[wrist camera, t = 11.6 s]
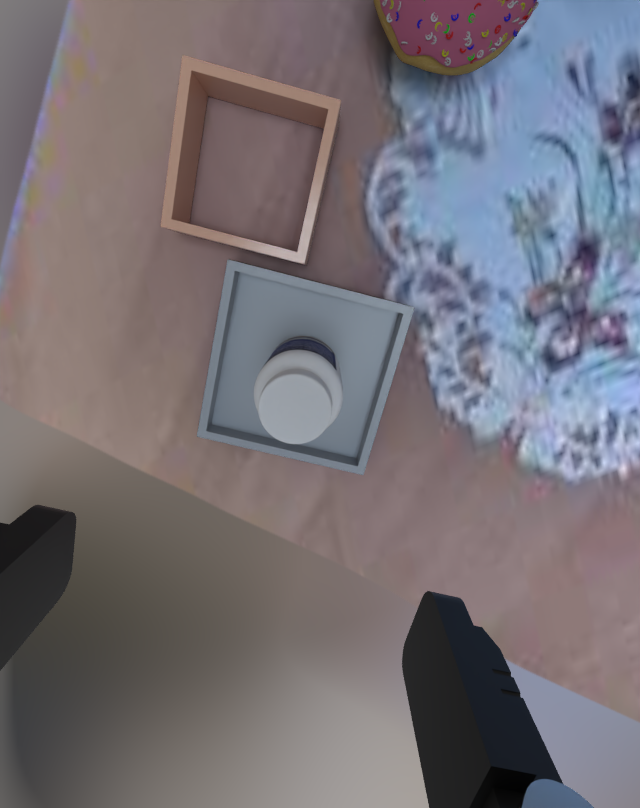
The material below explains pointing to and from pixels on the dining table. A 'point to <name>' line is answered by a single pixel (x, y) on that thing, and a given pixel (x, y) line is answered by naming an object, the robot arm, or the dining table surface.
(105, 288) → the dining table surface
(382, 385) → the tray
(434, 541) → the dining table surface
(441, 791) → the robot arm
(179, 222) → the holder
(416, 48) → the cupcake
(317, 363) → the pill bottle
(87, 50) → the dining table surface
